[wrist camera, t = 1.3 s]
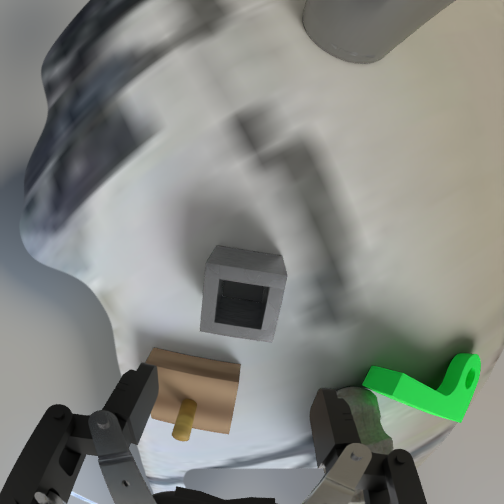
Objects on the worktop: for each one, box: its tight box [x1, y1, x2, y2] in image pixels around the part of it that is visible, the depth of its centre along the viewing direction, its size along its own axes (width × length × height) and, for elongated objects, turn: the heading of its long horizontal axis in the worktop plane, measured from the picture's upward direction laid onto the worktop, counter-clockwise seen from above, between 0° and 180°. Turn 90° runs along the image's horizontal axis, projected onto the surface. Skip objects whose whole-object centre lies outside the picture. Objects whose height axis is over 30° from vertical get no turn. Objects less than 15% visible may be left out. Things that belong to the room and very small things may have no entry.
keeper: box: [145, 348, 241, 441], centre depth 26 cm, size 10×10×8 cm
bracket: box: [362, 353, 481, 423], centre depth 27 cm, size 20×10×7 cm, turn 56°
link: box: [200, 245, 287, 342], centre depth 23 cm, size 6×6×5 cm
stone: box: [323, 387, 393, 504], centre depth 24 cm, size 19×7×15 cm, turn 8°
